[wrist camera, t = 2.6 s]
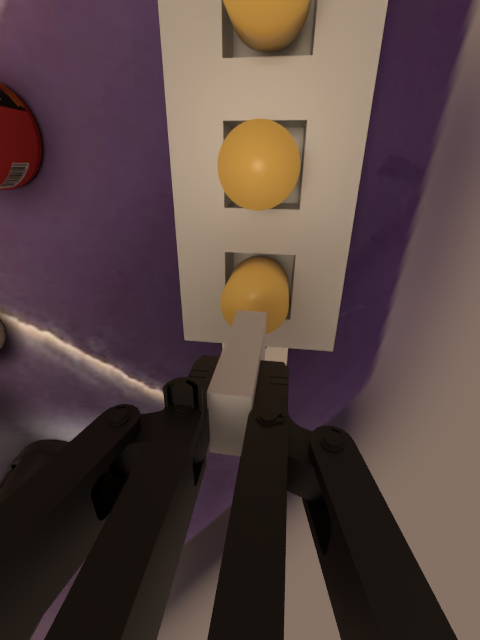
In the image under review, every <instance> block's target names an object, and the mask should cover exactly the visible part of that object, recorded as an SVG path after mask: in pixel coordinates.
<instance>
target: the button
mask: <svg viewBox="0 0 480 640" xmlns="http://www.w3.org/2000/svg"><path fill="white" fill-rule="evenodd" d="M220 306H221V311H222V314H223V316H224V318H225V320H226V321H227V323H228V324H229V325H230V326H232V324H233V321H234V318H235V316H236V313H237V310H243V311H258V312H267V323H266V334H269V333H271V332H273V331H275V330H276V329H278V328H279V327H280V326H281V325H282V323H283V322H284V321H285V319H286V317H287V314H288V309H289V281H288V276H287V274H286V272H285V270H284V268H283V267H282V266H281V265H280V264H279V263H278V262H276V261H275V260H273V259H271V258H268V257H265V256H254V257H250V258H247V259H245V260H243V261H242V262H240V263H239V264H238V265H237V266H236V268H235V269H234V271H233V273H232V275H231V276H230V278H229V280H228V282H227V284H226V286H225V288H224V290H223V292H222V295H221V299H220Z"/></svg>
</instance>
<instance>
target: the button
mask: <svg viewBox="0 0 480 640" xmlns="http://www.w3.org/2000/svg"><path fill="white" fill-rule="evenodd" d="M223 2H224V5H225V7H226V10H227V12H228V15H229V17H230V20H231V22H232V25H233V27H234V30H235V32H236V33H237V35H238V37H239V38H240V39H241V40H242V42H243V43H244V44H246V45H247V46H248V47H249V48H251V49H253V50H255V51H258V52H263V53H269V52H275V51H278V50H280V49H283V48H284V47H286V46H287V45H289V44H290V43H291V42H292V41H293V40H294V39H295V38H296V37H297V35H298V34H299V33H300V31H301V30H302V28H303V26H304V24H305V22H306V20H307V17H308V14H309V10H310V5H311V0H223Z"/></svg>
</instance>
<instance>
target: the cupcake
mask: <svg viewBox="0 0 480 640" xmlns="http://www.w3.org/2000/svg"><path fill="white" fill-rule="evenodd" d="M5 338H6V334H5V329H4V326H3V324H2V322H1V321H0V349H1V348H2V346H3V345H4V343H5Z"/></svg>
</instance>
